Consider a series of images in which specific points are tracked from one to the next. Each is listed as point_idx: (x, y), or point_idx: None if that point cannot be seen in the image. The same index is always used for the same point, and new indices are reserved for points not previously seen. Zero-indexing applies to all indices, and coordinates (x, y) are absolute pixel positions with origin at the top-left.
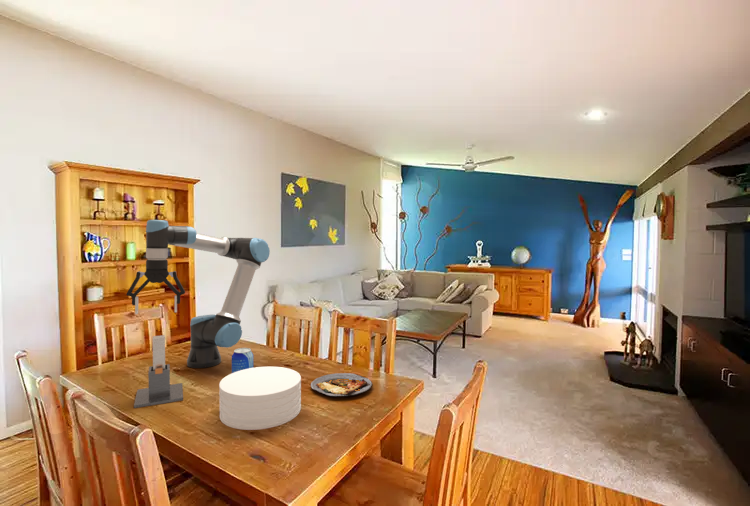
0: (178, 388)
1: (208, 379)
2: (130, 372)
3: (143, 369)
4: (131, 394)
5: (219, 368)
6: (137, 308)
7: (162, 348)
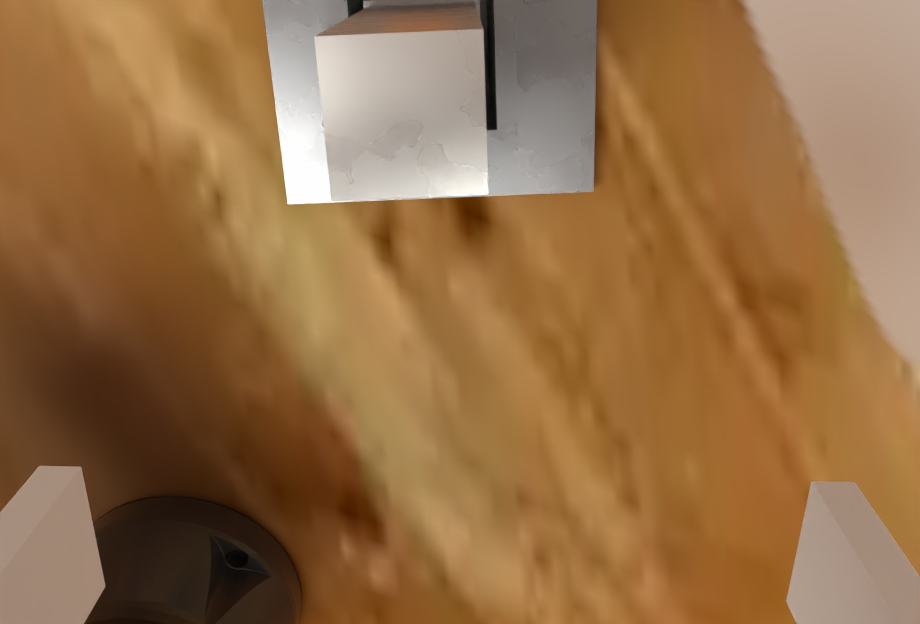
0: (303, 92)
1: (111, 252)
2: (654, 576)
3: (577, 602)
4: (628, 153)
5: (61, 452)
6: (858, 579)
7: (363, 21)
